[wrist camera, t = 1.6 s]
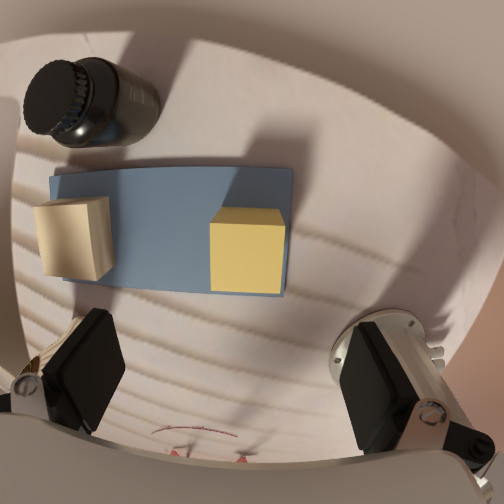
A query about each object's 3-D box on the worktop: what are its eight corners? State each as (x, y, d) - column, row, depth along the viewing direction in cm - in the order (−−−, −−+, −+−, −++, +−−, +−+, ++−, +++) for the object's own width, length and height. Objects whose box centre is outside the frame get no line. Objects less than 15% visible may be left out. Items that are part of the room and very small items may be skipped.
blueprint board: (291, 169, 24) (292, 169, 23) (282, 293, 28) (283, 297, 27) (53, 175, 24) (49, 176, 23) (66, 277, 28) (63, 280, 27)
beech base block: (108, 196, 24) (86, 204, 20) (115, 264, 26) (96, 281, 23) (56, 199, 24) (33, 207, 20) (65, 261, 27) (44, 275, 23)
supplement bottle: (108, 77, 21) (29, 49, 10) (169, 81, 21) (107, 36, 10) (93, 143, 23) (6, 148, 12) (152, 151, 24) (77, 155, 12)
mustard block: (278, 208, 24) (285, 226, 19) (275, 262, 26) (280, 293, 20) (221, 206, 24) (209, 223, 19) (220, 260, 26) (210, 290, 20)
